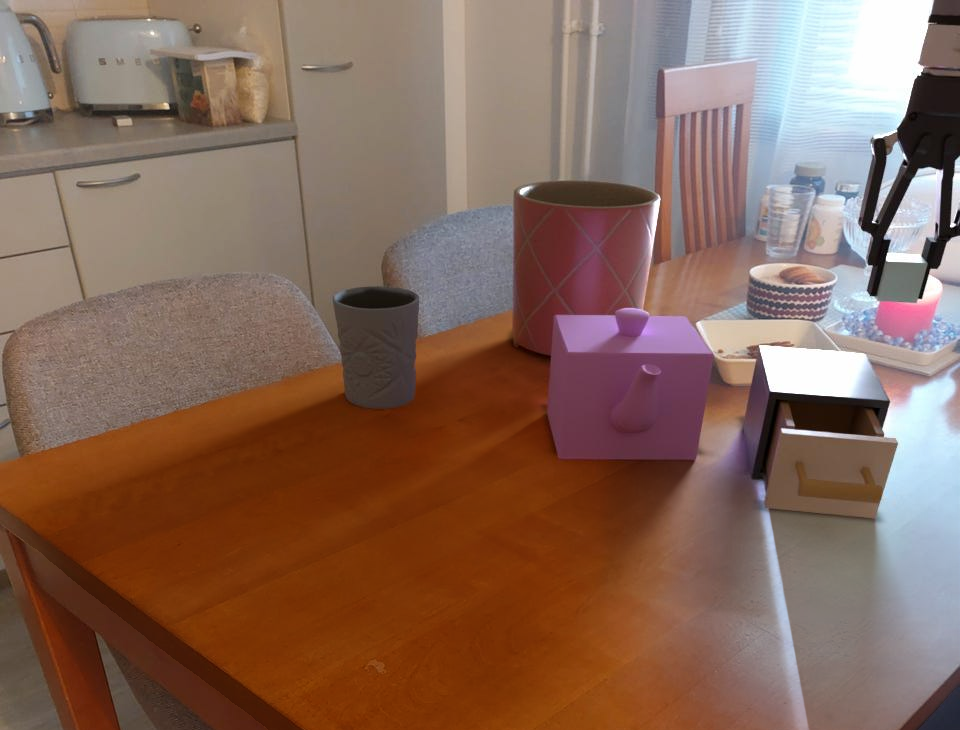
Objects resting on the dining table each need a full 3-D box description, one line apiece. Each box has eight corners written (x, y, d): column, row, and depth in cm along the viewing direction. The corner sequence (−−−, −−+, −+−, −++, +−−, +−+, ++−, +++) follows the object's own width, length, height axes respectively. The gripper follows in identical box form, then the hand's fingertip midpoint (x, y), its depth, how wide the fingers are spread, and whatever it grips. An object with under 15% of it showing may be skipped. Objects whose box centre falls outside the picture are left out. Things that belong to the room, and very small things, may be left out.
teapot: (566, 488, 95) (577, 353, 87) (543, 398, 115) (551, 281, 107) (711, 489, 95) (736, 354, 87) (663, 399, 116) (680, 283, 107)
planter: (480, 345, 131) (483, 191, 119) (561, 317, 143) (571, 175, 131) (589, 379, 121) (604, 214, 109) (666, 345, 133) (688, 194, 121)
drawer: (886, 548, 84) (911, 470, 80) (769, 536, 86) (788, 458, 81) (853, 460, 100) (872, 390, 95) (755, 452, 101) (769, 382, 97)
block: (909, 293, 115) (919, 254, 112) (916, 303, 111) (927, 263, 109) (870, 291, 116) (880, 252, 113) (877, 301, 112) (887, 261, 109)
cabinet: (864, 489, 96) (890, 401, 91) (751, 479, 98) (769, 391, 92) (843, 434, 108) (865, 353, 102) (742, 426, 109) (758, 345, 104)
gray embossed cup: (353, 415, 109) (347, 312, 102) (328, 386, 117) (321, 288, 110) (433, 404, 113) (432, 303, 106) (404, 377, 120) (401, 281, 113)
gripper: (873, 72, 98) (823, 298, 111) (1050, 77, 96) (977, 307, 109) (862, 67, 104) (816, 282, 118) (1028, 72, 102) (962, 291, 115)
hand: (894, 294), depth 113 cm, fingers closed on block, 5 cm apart
